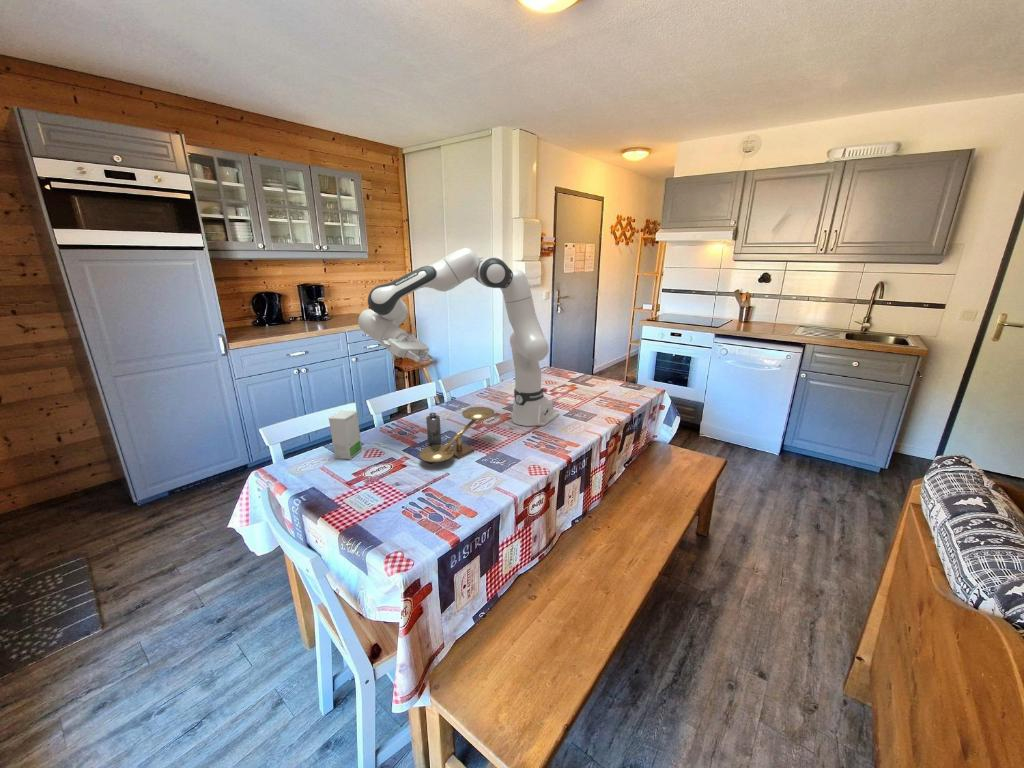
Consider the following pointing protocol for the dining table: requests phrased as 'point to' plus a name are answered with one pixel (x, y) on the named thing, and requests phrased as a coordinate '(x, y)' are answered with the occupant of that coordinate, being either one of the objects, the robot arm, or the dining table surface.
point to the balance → (456, 439)
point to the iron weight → (433, 429)
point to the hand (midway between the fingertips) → (425, 359)
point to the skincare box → (345, 434)
